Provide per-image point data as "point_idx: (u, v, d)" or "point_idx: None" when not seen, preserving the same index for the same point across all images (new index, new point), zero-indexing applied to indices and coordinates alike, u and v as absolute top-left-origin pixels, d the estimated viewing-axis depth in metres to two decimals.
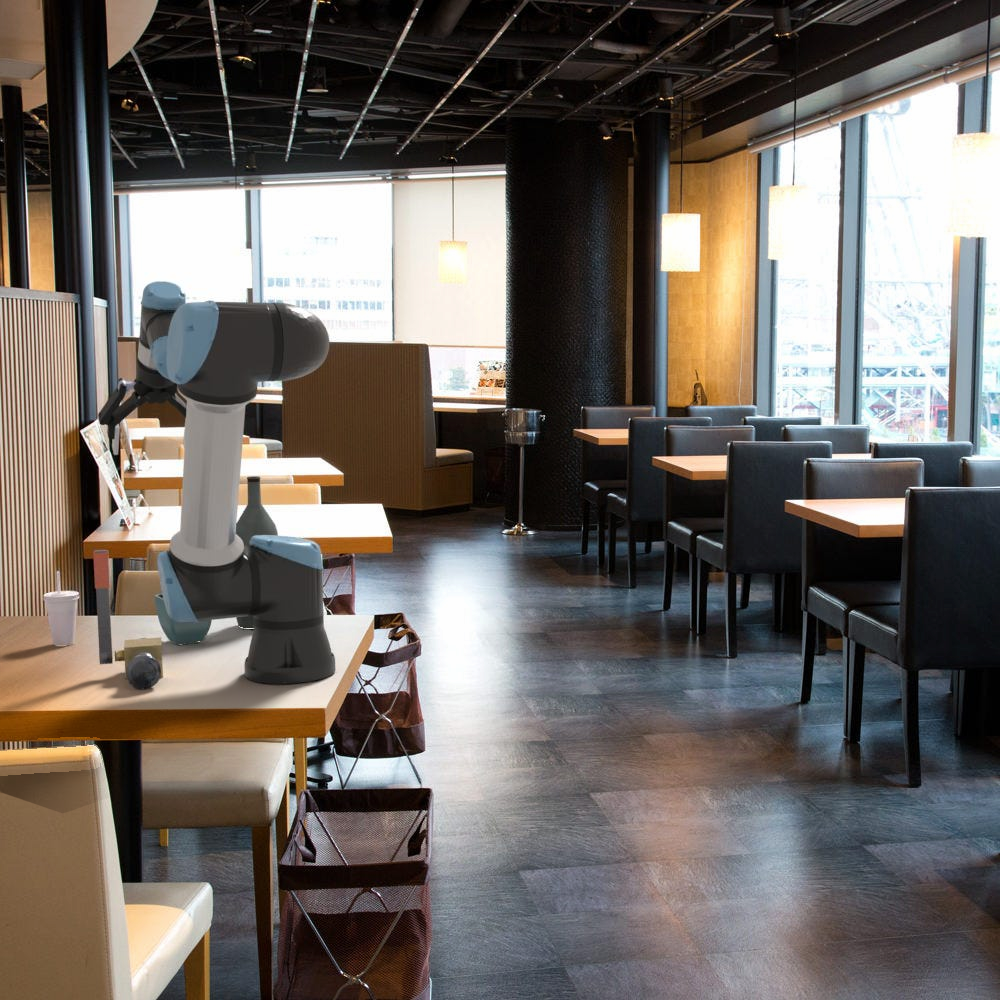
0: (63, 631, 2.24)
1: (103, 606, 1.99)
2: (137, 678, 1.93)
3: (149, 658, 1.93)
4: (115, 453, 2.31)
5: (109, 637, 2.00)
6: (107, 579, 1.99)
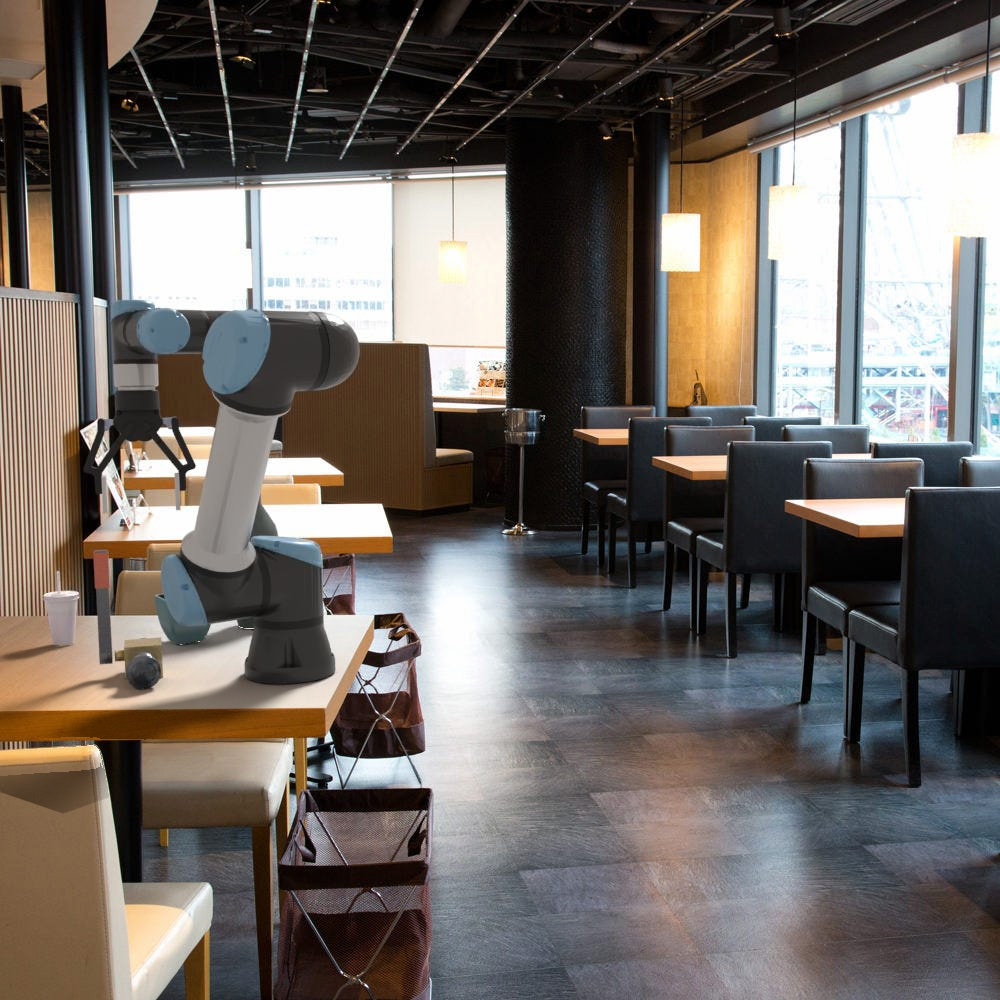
0: (63, 631, 2.24)
1: (103, 606, 1.99)
2: (137, 678, 1.93)
3: (149, 658, 1.93)
4: (104, 511, 2.11)
5: (109, 637, 2.00)
6: (107, 579, 1.99)
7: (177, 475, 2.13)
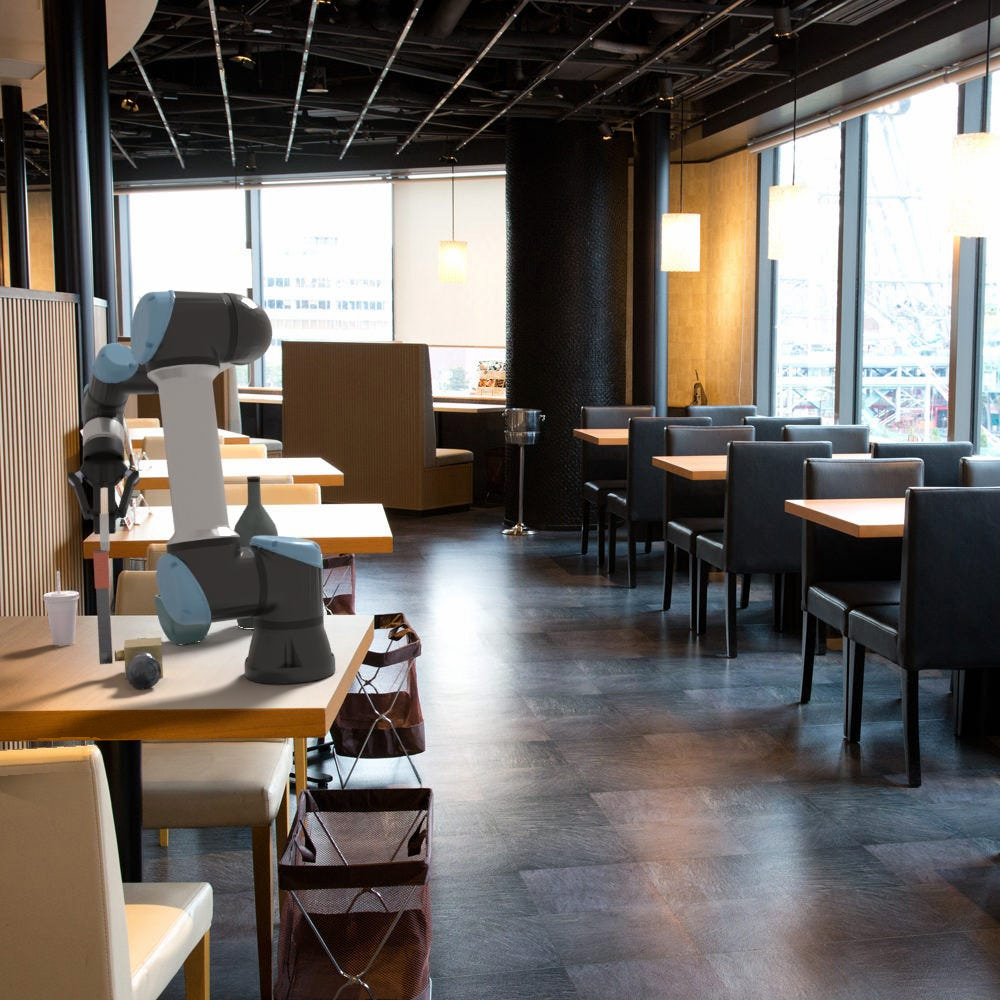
0: (63, 631, 2.24)
1: (103, 606, 1.99)
2: (137, 678, 1.93)
3: (149, 658, 1.93)
4: (101, 540, 2.14)
5: (109, 637, 2.00)
6: (107, 579, 1.99)
7: (106, 514, 2.18)
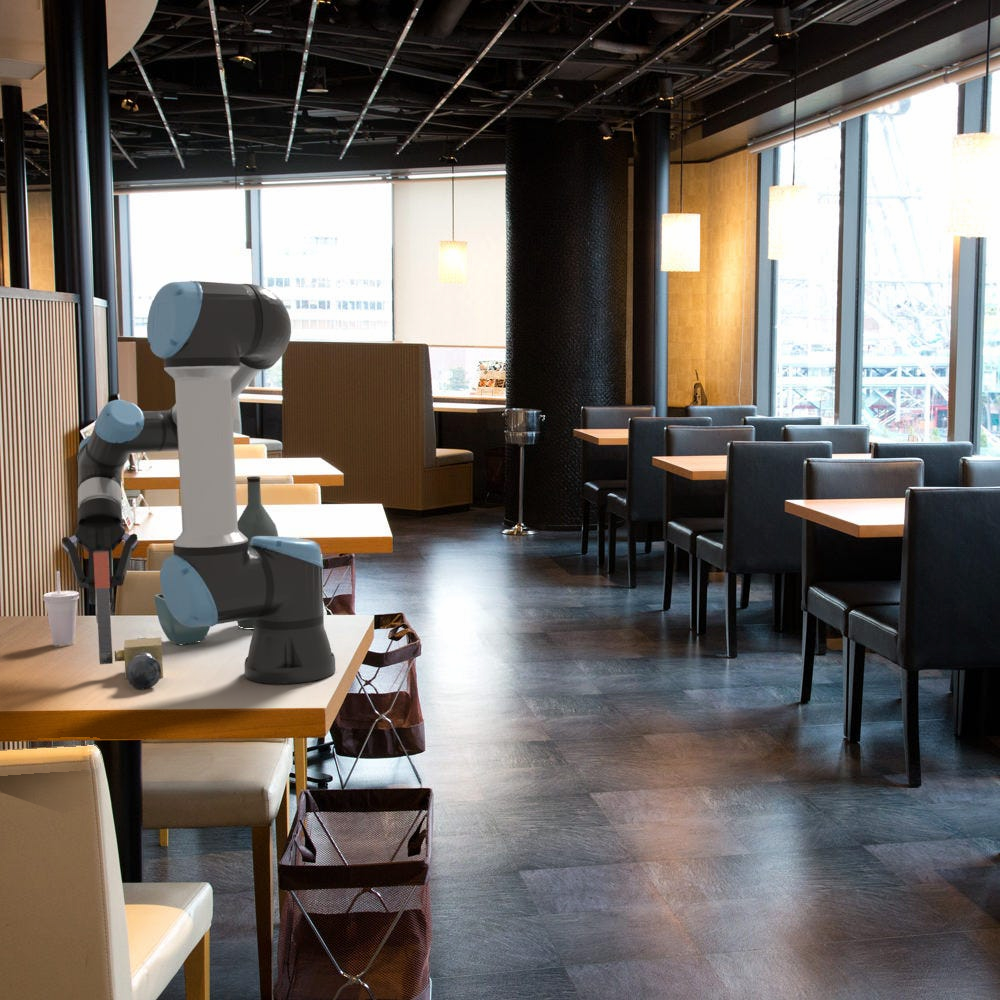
0: (63, 631, 2.24)
1: (103, 606, 1.99)
2: (137, 678, 1.93)
3: (149, 658, 1.93)
4: None
5: (109, 637, 2.00)
6: (107, 579, 1.99)
7: None
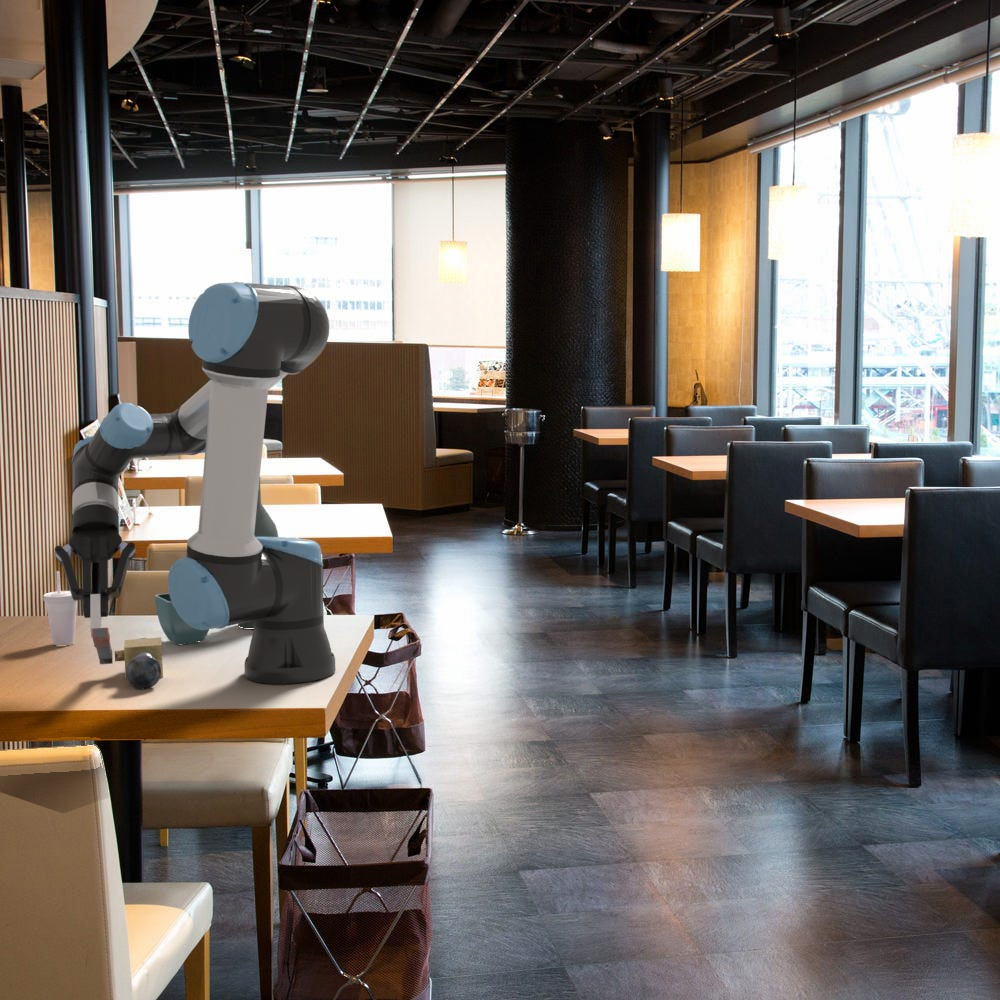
0: (63, 631, 2.24)
1: (103, 650, 1.93)
2: (137, 678, 1.93)
3: (149, 658, 1.93)
4: (92, 626, 1.89)
5: (109, 656, 1.98)
6: (107, 644, 1.89)
7: (98, 595, 1.93)
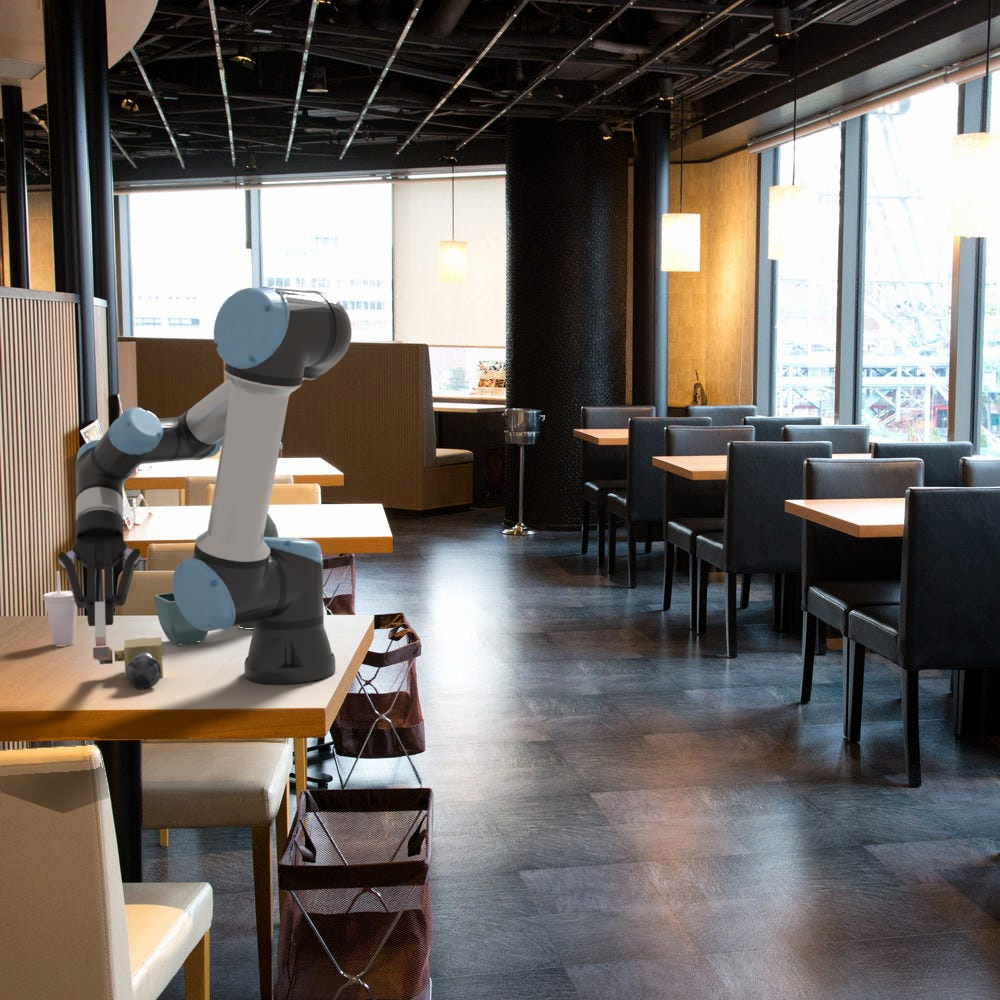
0: (63, 631, 2.24)
1: None
2: (137, 678, 1.93)
3: (149, 658, 1.93)
4: (96, 635, 1.84)
5: None
6: (108, 658, 1.88)
7: (102, 602, 1.88)
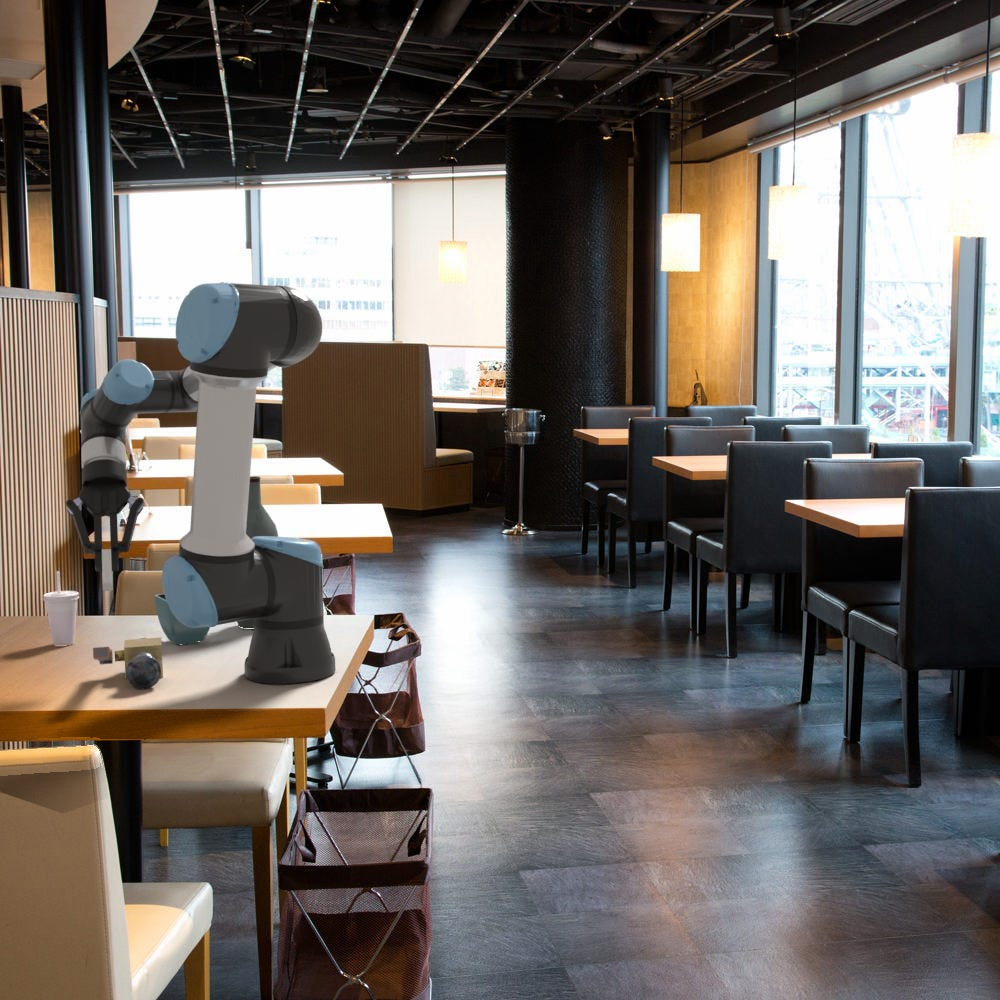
0: (63, 631, 2.24)
1: None
2: (137, 678, 1.93)
3: (149, 658, 1.93)
4: (104, 581, 1.98)
5: None
6: (108, 658, 1.88)
7: (109, 550, 2.01)
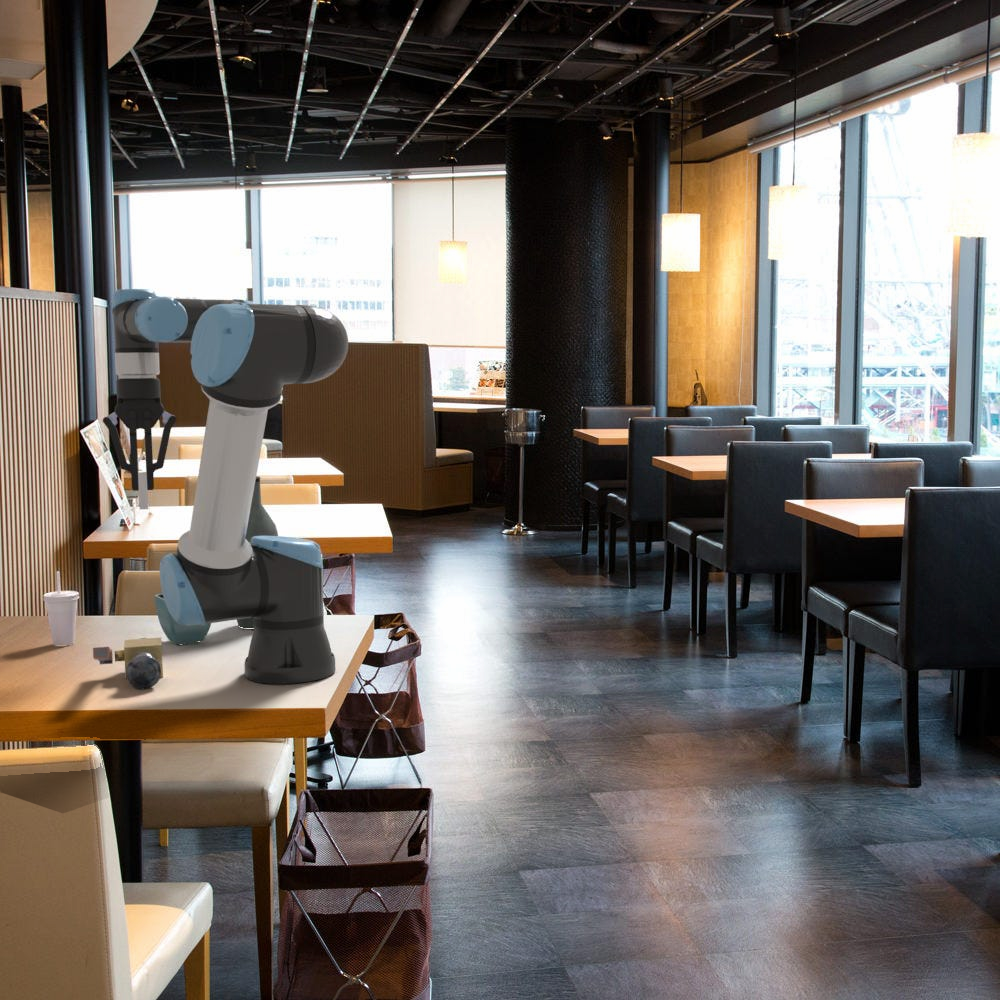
0: (63, 631, 2.24)
1: None
2: (137, 678, 1.93)
3: (149, 658, 1.93)
4: (141, 507, 2.15)
5: None
6: (108, 658, 1.88)
7: (145, 474, 2.15)
